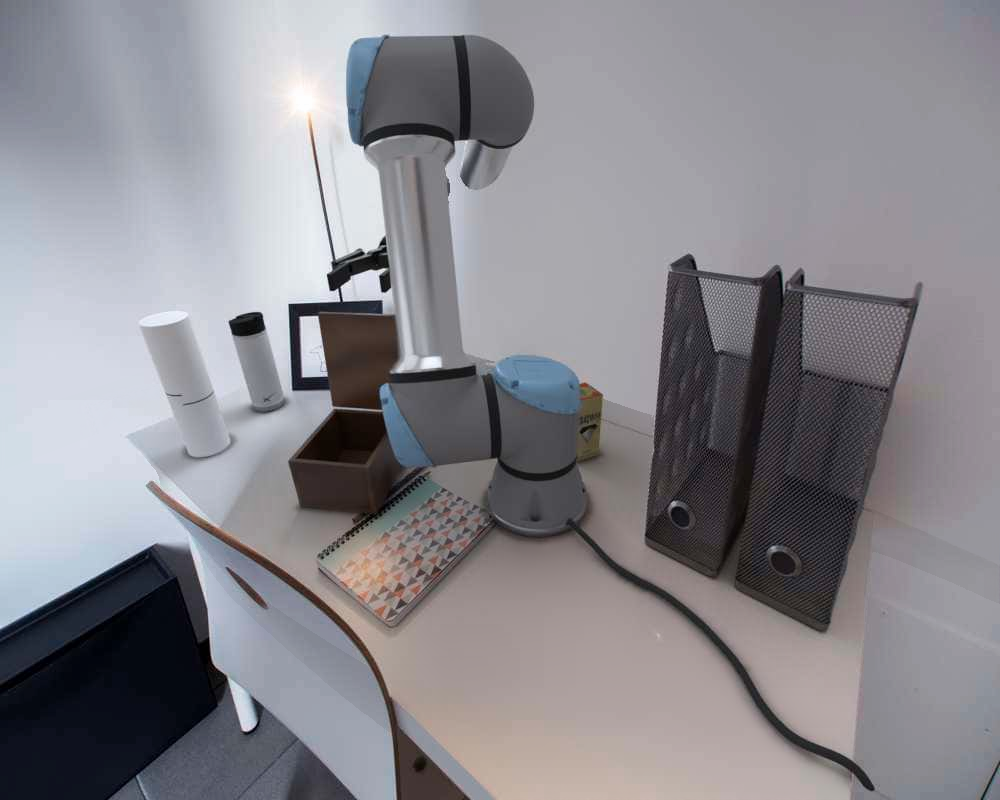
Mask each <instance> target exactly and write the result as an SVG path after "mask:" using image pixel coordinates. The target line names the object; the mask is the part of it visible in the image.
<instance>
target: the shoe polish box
mask: <svg viewBox="0 0 1000 800" xmlns="http://www.w3.org/2000/svg"><path fill="white" fill-rule="evenodd" d="M603 399H604V394H603V393H601V392H600V391H599V390H598V389H596V388H595V387H593V386H592V385H590V384H589V383H587V382H581V383H580V401H581V409H580V414H579V429H578V447H577V463H578V462H581V461H584V460H587V459H589V458H593V457H595V456H598V455H599V450H600V438H601V425H602V414H603V413H602V412H603V411H602V410H603Z"/></svg>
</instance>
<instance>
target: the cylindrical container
mask: <svg viewBox="0 0 1000 800" xmlns="http://www.w3.org/2000/svg"><path fill="white" fill-rule="evenodd" d="M138 326H139V328H140V331H141V333H142V336H143V339H144V342H145V344H146V347H147V349H148V352H149V354H150V357H151V360H152V363H153V364H154V368H155V370H156V372H157V375H158V378H159V381H160V383H161V385H162V388H163V391H164V393H165V396H166V399H167V401H168V403H169V406H170V409H171V411H172V414H173V417H174V419H175V423H176V425H177V428H178V430H179V433H180V436H181V438H182V441H183V442H184V446H185V448H186V450H187V453H188V455H189V456H190V457H194V458H207V457H210V456H214V455H217V454H220V453H221V452H223V451H225V450H226V449H227V448H228V447H229V446H230V444H231V438H230V437H231V436H230V435H229V432H228V429H227V426H226V423H225V420H224V417H223V414H222V411H221V408H220V405H219V401H218V399H217V395H216V392H215V390H214V387H213V384H212V381H211V378H210V375H209V371H208V368H207V366H206V363H205V360H204V357H203V354H202V351H201V348H200V344H199V342H198V339H197V335H196V332H195V330H194V326H193V324H192V320H191V317H190V315H189V313H188V312H187V311H184V310H169V311H162V312H158V313H154V314H151V315H147V316H145V317H143V318H141V319H140V320H139V321H138Z"/></svg>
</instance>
